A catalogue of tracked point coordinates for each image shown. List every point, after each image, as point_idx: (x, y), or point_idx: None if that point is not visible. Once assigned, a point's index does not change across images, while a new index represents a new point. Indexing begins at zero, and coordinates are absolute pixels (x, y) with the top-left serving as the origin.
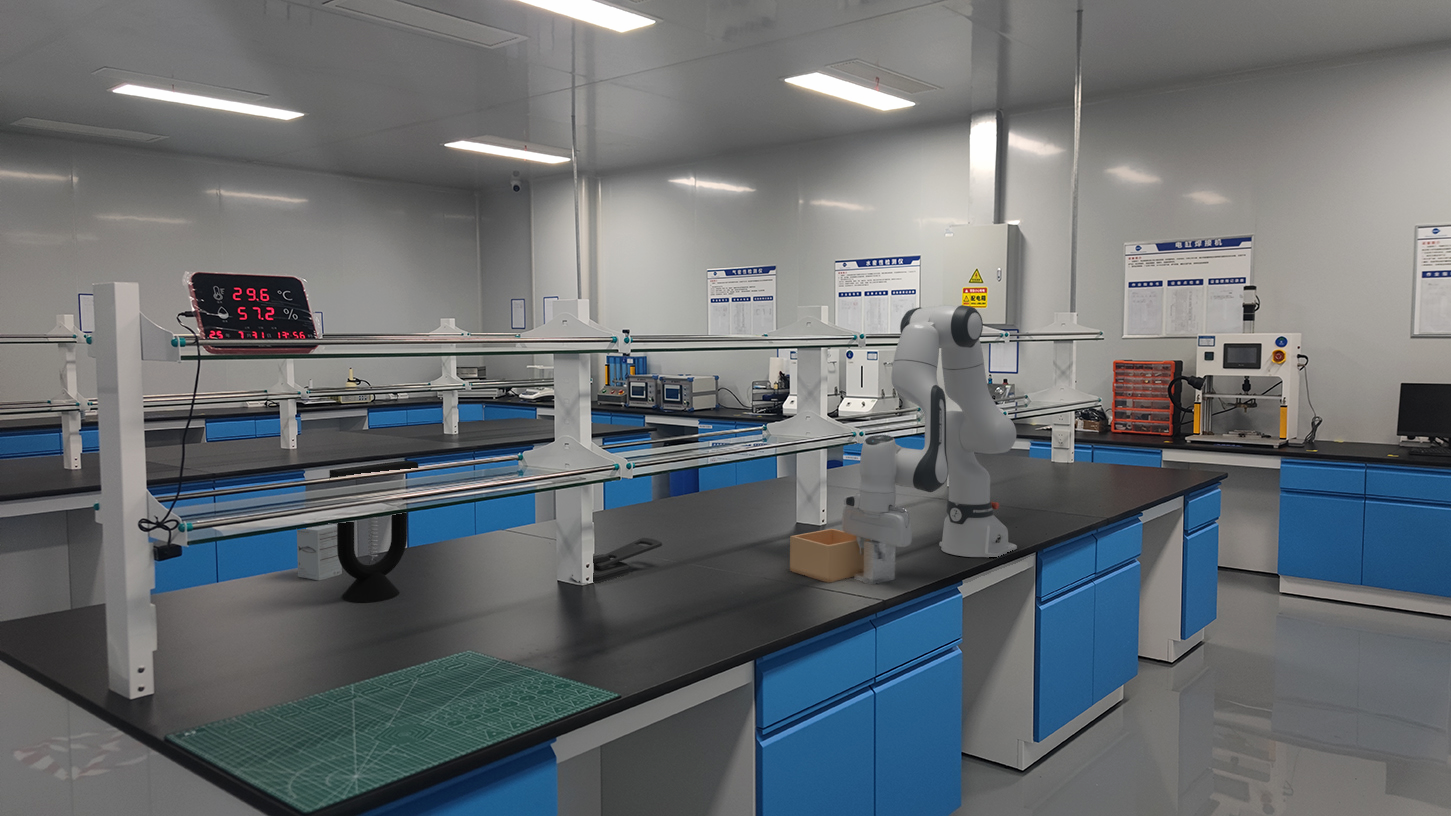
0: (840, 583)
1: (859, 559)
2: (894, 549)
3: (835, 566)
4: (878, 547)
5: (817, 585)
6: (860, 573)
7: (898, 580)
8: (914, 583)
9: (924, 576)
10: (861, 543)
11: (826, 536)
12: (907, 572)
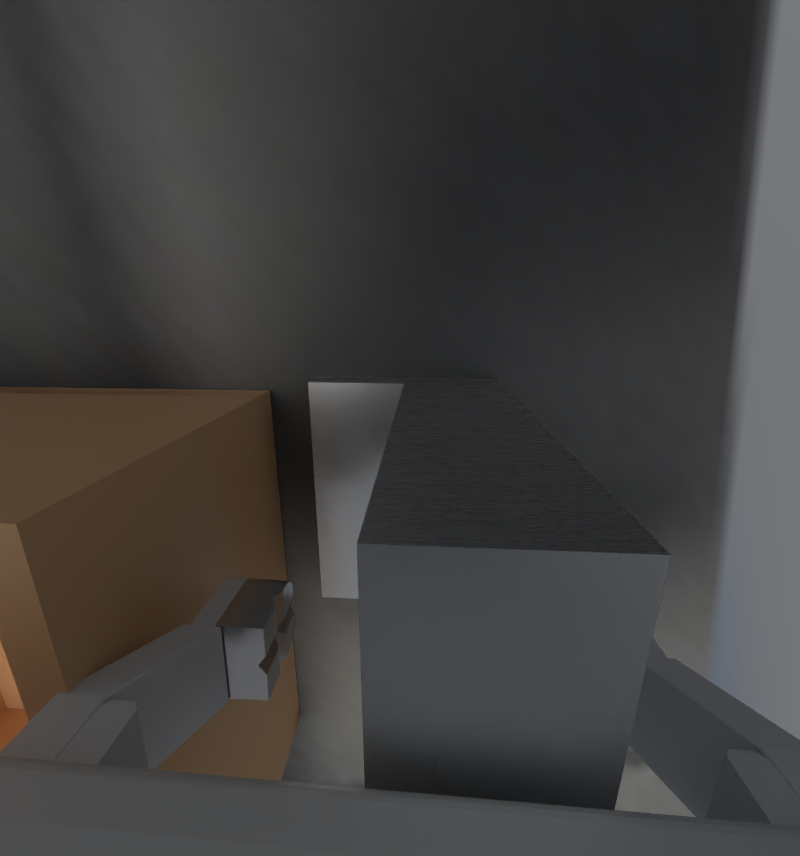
0: (347, 683)
1: (228, 558)
2: (773, 726)
3: (263, 761)
4: None
5: (308, 773)
6: (325, 552)
7: (536, 383)
8: (672, 353)
9: (622, 91)
10: (171, 728)
11: None
12: (433, 115)
